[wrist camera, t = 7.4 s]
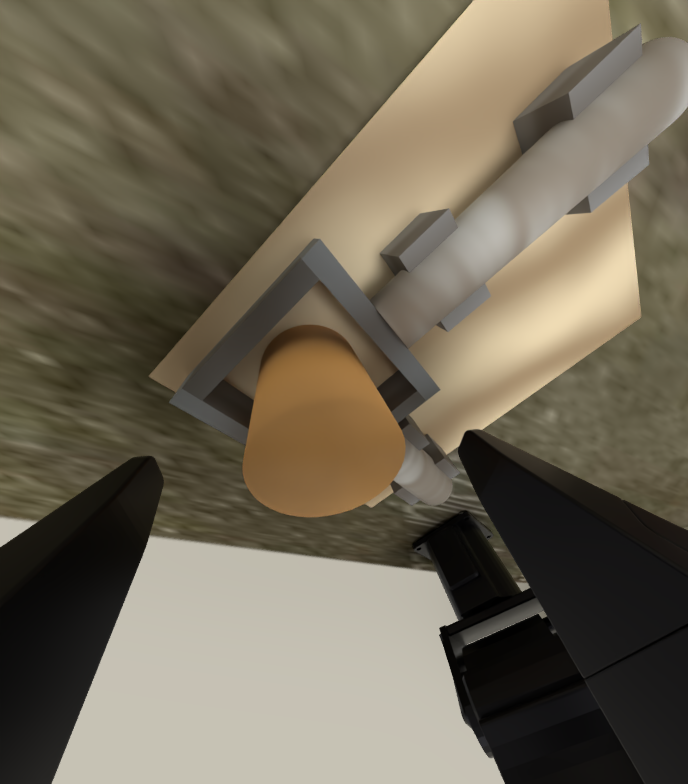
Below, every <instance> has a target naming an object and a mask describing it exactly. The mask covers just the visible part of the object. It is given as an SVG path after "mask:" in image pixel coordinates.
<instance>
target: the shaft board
mask: <svg viewBox="0 0 688 784" xmlns="http://www.w3.org/2000/svg"><path fill="white" fill-rule="evenodd" d="M687 107H688V43H687V42H685V41H684V40H681V39H678V38H674V37H662V38H657V39H654V40H651V41H649V42H646V43H644V44H642V37H641V23H640V24H639V25H637V26H636V27H634V28H632V29H631V30H629V31H627V32H626V33H624V34H622V35H621V36H619V37H617V38H616V39H614V40H612V31H611V21H610V12H609V2H608V0H474V1H473V2H472V3H471V4H470V5H469V6H468V8H467V9H466V10H465V11H464V12H463V13H462V15H461V16H460V17H459V18H458V19H457V20H456V21H455V23H454V24H453V25H452V26H451V27H450V28H449V30H448V31H447V32H446V33H445V34H444V35H443V36H442V38H441V39H440V40H439V41H438V42H437V43H436V45H435V46H434V47H433V48H432V49H431V50H430V51H429V53H428V54H427V55H426V56H425V57H424V58H423V60H422V61H421V62H420V63H419V64H418V65H417V67H416V68H415V69H414V70H413V71H412V72H411V73H410V75H409V76H408V77H407V78H406V79H405V80H404V82H403V83H402V84H401V85H400V86H399V87H398V88H397V90H396V91H395V92H394V93H393V94H392V95H391V97H390V98H389V99H388V100H387V101H386V102H385V104H384V105H383V106H382V107H381V108H380V109H379V110H378V112H377V113H376V114H375V115H374V116H373V117H372V119H371V120H370V121H369V122H368V123H367V124H366V125H365V127H364V128H363V129H362V130H361V131H360V132H359V134H358V135H357V136H356V137H355V138H354V139H353V140H352V142H351V143H350V144H349V145H348V146H347V147H346V149H345V150H344V151H343V152H342V153H341V154H340V156H339V157H338V158H337V159H336V160H335V161H334V162H333V164H332V165H331V166H330V167H329V168H328V169H327V171H326V172H325V173H324V174H323V175H322V176H321V177H320V179H319V180H318V181H317V182H316V183H315V184H314V186H313V187H312V188H311V189H310V190H309V191H308V193H307V194H306V195H305V196H304V197H303V198H302V199H301V201H300V202H299V203H298V204H297V205H296V206H295V208H294V209H293V210H292V211H291V212H290V213H289V214H288V216H287V217H286V218H285V219H284V220H283V221H282V223H281V224H280V225H279V226H278V227H277V228H276V230H275V231H274V232H273V233H272V234H271V235H270V236H269V238H268V239H267V240H266V241H265V242H264V243H263V245H262V246H261V247H260V248H259V249H258V250H257V251H256V253H255V254H254V255H253V256H252V257H251V258H250V260H249V261H248V262H247V263H246V264H245V265H244V266H243V268H242V269H241V270H240V271H239V272H238V273H237V275H236V276H235V277H234V278H233V279H232V280H231V282H230V283H229V284H228V285H227V286H226V287H225V288H224V290H223V291H222V292H221V293H220V294H219V295H218V297H217V298H216V299H215V300H214V301H213V302H212V303H211V305H210V306H209V307H208V308H207V309H206V310H205V312H204V313H203V314H202V315H201V316H200V317H199V319H198V320H197V321H196V322H195V323H194V324H193V325H192V327H191V328H190V329H189V330H188V331H187V332H186V334H185V335H184V336H183V337H182V338H181V339H180V340H179V342H178V343H177V344H176V345H175V346H174V347H173V349H172V350H171V351H170V352H169V353H168V354H167V355H166V357H165V358H164V359H163V360H162V361H161V362H160V364H159V365H158V366H157V367H156V368H155V369H154V371H153V372H152V373H151V374H150V375H149V376H148V377H150V378H152V379H154V380H155V381H157V382H159V383H160V384H162V385H164V386H165V387H167V388H169V389H171V390H172V391H174V392H176V393H175V394H174V396H173V397H172V399H171V400H170V401H169V403H171V404H172V405H174V406H176V407H178V408H179V409H181V410H183V411H185V412H187V413H188V414H190V415H192V416H194V417H195V418H197V419H199V420H201V421H203V422H204V423H206V424H208V425H210V426H212V427H213V428H215V429H217V430H219V431H220V432H222V433H224V434H226V435H228V436H229V437H231V438H233V439H235V440H236V441H238V442H240V443H242V444H244V445H245V446H246V442H247V436H248V431H249V425H250V420H251V414H252V409H253V403H254V397H255V392H256V386H257V381H258V375H259V370H260V364H261V359H262V356H263V354H264V351H265V349H266V348H267V346H268V345H269V343H270V342H271V341H272V340H273V339H274V338H275V337H276V336H278V335H279V334H280V333H282V332H284V331H285V330H288V329H290V328H293V327H296V326H300V325H320V326H324V327H327V328H330V329H332V330H334V331H336V332H338V333H339V334H340V335H342V336H343V337H344V338H345V339H346V340H347V341H348V342H349V344H350V345H351V347H352V348H353V350H354V352H355V353H356V355H357V357H358V358H359V360H360V362H361V363H362V365H363V367H364V368H365V370H366V372H367V373H368V375H369V377H370V378H371V380H372V382H373V383H374V385H375V386H376V388H377V390H378V391H379V393H380V395H381V396H382V398H383V400H384V401H385V403H386V405H387V406H388V408H389V410H390V411H391V413H392V415H393V416H394V418H395V420H396V421H397V423H398V425H399V426H400V428H401V430H402V432H403V435H404V438H405V445H406V448H405V457H404V461H403V464H402V466H401V469H400V470H399V472H398V474H397V476H396V477H395V478H394V480H393V481H392V482H391V483H390V485H389V486H388V487H387V488H386V489H385V490H383V491H382V492H381V493H380V494H379V495H377V496H376V497H375V498H373V499H371V500H370V501H368V502H367V503H365V504H366V505H368V506H369V507H371V508H372V507H373V506H375V505H376V504H377V503H379V502H380V501H382V500H383V499H384V498H386V497H387V496H389V495H390V494H391V493H393V492H394V494H396V495H397V496H398V497H400V498H401V499H403V500H404V501H406V502H407V503H409V504H410V505H414V504H415V503H416V502H418V501H419V500H421V501H422V502H424V503H426V504H428V505H439V504H442V503H443V502H445V501H446V500H447V499H448V498H449V496H450V494H451V492H452V488H453V483H452V478H453V477H455V476H456V475H458V474H459V473H460V472H459V471H458V470H457V468H456V467H455V466H454V464H453V463H452V461H451V460H450V459H449V457H448V456H447V454H448V453H450V452H451V451H452V450H454V449H455V448H457V447H458V446H459V445H460V442H461V440H462V437H463V435H464V433H465V431H467V430H472V429H480V430H482V429H484V428H485V427H486V426H488V425H489V424H491V423H492V422H493V421H495V420H496V419H498V418H499V417H501V416H502V415H503V414H505V413H506V412H508V411H509V410H510V409H512V408H513V407H515V406H516V405H517V404H519V403H520V402H522V401H523V400H525V399H526V398H527V397H529V396H530V395H532V394H533V393H534V392H536V391H537V390H539V389H540V388H542V387H543V386H544V385H546V384H547V383H549V382H550V381H551V380H553V379H554V378H556V377H557V376H559V375H560V374H561V373H563V372H564V371H566V370H567V369H568V368H570V367H571V366H573V365H574V364H576V363H577V362H578V361H580V360H581V359H583V358H584V357H585V356H587V355H588V354H590V353H591V352H593V351H594V350H595V349H597V348H598V347H600V346H601V345H602V344H604V343H605V342H607V341H608V340H610V339H611V338H612V337H614V336H615V335H617V334H618V333H619V332H621V331H622V330H624V329H625V328H627V327H628V326H629V325H631V324H632V323H634V322H635V321H636V320H638V319H639V318H641V309H640V299H639V289H638V280H637V270H636V261H635V251H634V242H633V232H632V222H631V213H630V203H629V194H628V184H627V182H629V181H630V180H631V179H632V178H633V177H635V176H636V175H637V174H638V173H639V172H641V171H642V170H643V169H644V168H645V167H647V166H648V165H649V155H648V144H649V143H650V142H651V141H652V140H653V139H654V138H656V137H657V136H658V135H659V134H660V133H661V132H663V131H664V130H665V129H666V128H667V127H668V126H670V125H671V124H672V123H673V122H674V121H675V120H677V119H678V118H679V116H680V115H681V114H682V113H683V112H684V111H685V109H686V108H687Z"/></svg>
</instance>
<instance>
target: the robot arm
mask: <svg viewBox="0 0 688 784" xmlns="http://www.w3.org/2000/svg"><path fill="white" fill-rule="evenodd" d="M458 454H459V457H460V460H461V462H462V464H463V466H464V468H465V470H466V472H467V475H468V477H469V479H470V481H471V483H472V485H473V488H474V490H475V492H476V494H477V496H478V498H479V500H480V502H481V503H482V505H483V507H484V509H485V510H486V512H487V514H488V516H489V517H490V519H491V521H492V522H493V524H494V526H495V528H496V529H497V531H498V533H499V534H500V536H501V538H502V540H503V541H504V543H505V545H506V546H507V548H508V550H509V552H510V553H511V555H512V557H513V558H514V560H515V562H516V564H517V565H518V567H519V569H520V570H521V572H522V574H523V576H524V577H525V579H526V581H527V582H528V584H529V586H530V588H529V589H527V590H525V591H523V592H522V591H521V590H520V588H519V587H518V585H517V584H516V582H515V581H514V579H513V578H512V576H511V575H510V573H509V572H508V570H507V569H506V567H505V566H504V564H503V563H502V561H501V560H500V558H499V557H498V555H497V554H496V552H495V551H494V549H493V547H492V546H491V544H490V543H489V541H488V539H490V538H492V537H493V534H492V532H491V531H490V530H489V529H488V528H487V527H486V526H484V525H483V524H482V523H481V522H480V521H478V520H477V519H476V518H475V517H474V516H472V515H471V514H470V513H469V512H464V513H462V514H460V515H459V516H457V517H456V518H454V519H452V520H451V521H449V522H448V523H446V524H445V525H443V526H441V527H440V528H438V529H437V530H435V531H433V532H432V533H430V534H429V535H427V536H426V537H424V538H422V539H421V540H419V541H418V542H416V543H415V544H413V546H412V547H413V549H414V551H415V552H417V553H419V554H420V555H422V556H424V557H426V558H428V559H430V560H432V563H433V565H434V567H435V569H436V571H437V574H438V576H439V578H440V580H441V583H442V585H443V587H444V589H445V592H446V594H447V596H448V598H449V601H450V603H451V605H452V607H453V609H454V612H455V614H456V616H457V619H458V621H457V622H455V623H453V624H450V625H448V626H443V627H440V628H439V629H440V632H441V634H440V635H439V636H440V638H441V641H442V644H443V647H444V650H445V653H446V657H447V660H448V663H449V666H450V669H451V673H452V676H453V680H454V684H455V688H456V692H457V697H458V701H459V706H460V709H461V714H462V717H463V719H464V721H465V723H466V724H467V725H468V726H469V727H471V728H472V729H473V731H474V733H475V735H476V737H477V739H478V741H479V743H480V745H481V746H482V748H483V750H484V752H485V753H486V755H487V756H488V757H489V758H493V757H494V759H495V762H496V764H497V766H498V769H499V771H500V773H501V776H502V778H503V780H504V782H505V784H688V530H686V529H684V528H682V527H679V526H677V525H675V524H673V523H671V522H669V521H667V520H665V519H662V518H660V517H658V516H656V515H654V514H652V513H650V512H648V511H646V510H644V509H642V508H640V507H638V506H635V505H633V504H631V503H629V502H627V501H625V500H621V499H620V498H619V497H617V496H615V495H613V494H611V493H609V492H607V491H605V490H603V489H601V488H599V487H597V486H594V485H592V484H590V483H588V482H586V481H584V480H582V479H580V478H578V477H576V476H574V475H572V474H570V473H568V472H566V471H564V470H562V469H560V468H558V467H556V466H554V465H552V464H550V463H548V462H545V461H543V460H541V459H539V458H537V457H535V456H533V455H531V454H529V453H527V452H525V451H523V450H521V449H519V448H517V447H515V446H513V445H511V444H509V443H507V442H505V441H503V440H501V439H498V438H496V437H494V436H492V435H490V434H488V433H486V432H484V431H482V430H480V429H472V430H467V431H465V433H464V435H463V437H462V440H461V442H460V445H459V448H458ZM163 484H164V480H163V476H162V474H161V471H160V469H159V467H158V464H157V462H156V460H155V458H154V457H152V456H140V457H133V458H131V459H130V460H128V461H127V462H125V463H124V464H122V465H121V466H119V467H118V468H116V469H115V470H113V471H112V472H110V473H109V474H108V475H106V476H105V477H103V478H102V479H100V480H99V481H97V482H96V483H94V484H93V485H91V486H90V487H88V488H87V489H85V490H84V491H83V492H81V493H80V494H78V495H77V496H75V497H74V498H72V499H71V500H69V501H68V502H66V503H65V504H63V505H62V506H60V507H59V508H57V509H56V510H55V511H53V512H52V513H50V514H49V515H47V516H46V517H44V518H43V519H41V520H40V521H38V522H37V523H35V524H34V525H32V526H31V527H30V528H28V529H27V530H25V531H24V532H22V533H21V534H19V535H18V536H17V537H15V538H13V539H12V540H10V541H9V542H8V543H6V544H5V545H3V546H2V547H0V784H52V781H53V779H54V776H55V773H56V771H57V769H58V766H59V763H60V761H61V758H62V756H63V753H64V751H65V749H66V746H67V744H68V741H69V739H70V736H71V734H72V731H73V729H74V726H75V723H76V721H77V719H78V716H79V714H80V711H81V708H82V706H83V704H84V701H85V698H86V696H87V693H88V691H89V688H90V686H91V684H92V681H93V679H94V676H95V674H96V671H97V669H98V666H99V663H100V661H101V658H102V656H103V653H104V651H105V648H106V646H107V643H108V641H109V638H110V636H111V633H112V631H113V628H114V626H115V623H116V621H117V618H118V616H119V613H120V611H121V608H122V606H123V603H124V601H125V598H126V596H127V593H128V591H129V588H130V586H131V583H132V581H133V578H134V576H135V573H136V571H137V568H138V566H139V563H140V561H141V558H142V556H143V553H144V550H145V548H146V545H147V542H148V538H149V535H150V532H151V528H152V524H153V521H154V517H155V514H156V510H157V507H158V503H159V499H160V496H161V492H162V489H163ZM541 611H545V613H546V615H547V617H545V618H543V619H542V618H541V617H540V616H539V614H537V613H539V612H541ZM535 614H536V615H535ZM532 615H534V616H532ZM530 616H532V617H530ZM528 617H530V618H528ZM526 618H527V619H526ZM523 619H525V620H523ZM521 620H523V621H521ZM519 621H521V622H519ZM517 622H518V623H517ZM514 623H516V624H514ZM512 624H514V625H512ZM510 625H511V626H510ZM507 626H509V627H507ZM505 627H507V628H505ZM503 628H505V629H503ZM501 629H503V630H501ZM498 630H500V631H498ZM496 631H498V632H496ZM494 632H496V633H494ZM492 633H493V634H492ZM489 634H491V635H489ZM487 635H489V636H487ZM485 636H487V637H485ZM482 637H484V638H482ZM480 638H482V639H480ZM478 639H480V640H478ZM476 640H477V641H476ZM473 641H475V642H473ZM471 642H473V643H471ZM469 643H471V644H469ZM467 644H468V645H467Z"/></svg>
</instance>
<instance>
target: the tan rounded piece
mask: <svg viewBox="0 0 688 784" xmlns="http://www.w3.org/2000/svg"><path fill="white" fill-rule="evenodd" d="M405 448H406V445H405V438H404V435H403V432H402V430H401V428H400V426H399V425H398V423H397V421H396V420H395V418H394V416H393V415H392V413H391V411H390V410H389V408H388V406H387V405H386V403H385V401H384V400H383V398H382V396H381V395H380V393H379V391H378V390H377V388H376V386H375V385H374V383H373V382H372V380H371V378H370V377H369V375H368V373H367V372H366V370H365V368H364V367H363V365H362V363H361V362H360V360H359V358H358V357H357V355H356V353H355V352H354V350H353V348H352V347H351V345H350V344H349V342H348V341H347V340H346V339H345V338H344V337H343V336H342V335H340V334H339V333H338V332H336V331H334V330H332V329H330V328H327V327H324V326H320V325H300V326H296V327H293V328H290V329H288V330H285V331H284V332H282V333H280V334H279V335H278V336H276V337H275V338H274V339H273V340H272V341H271V342H270V343H269V345H268V346H267V348H266V349H265V351H264V354H263V356H262V359H261V364H260V370H259V375H258V381H257V386H256V392H255V397H254V403H253V409H252V414H251V420H250V425H249V431H248V436H247V442H246V447H245V453H244V459H243V466H242V467H243V477H244V480H245V483H246V485H247V487H248V489H249V491H250V492H251V493H252V495H253V496H254V497H255V498H256V499H257V500H258V501H259V502H261V503H262V504H264V505H265V506H267V507H269V508H270V509H272V510H275V511H277V512H280V513H283V514H287V515H292V516H298V517H322V516H329V515H335V514H339V513H343V512H346V511H349V510H352V509H354V508H356V507H359V506H361V505H363V504H365V503H367V502H368V501H370V500H371V499H373V498H375V497H376V496H377V495H379V494H380V493H381V492H382V491H383V490H385V489H386V488H387V487H388V486H389V485H390V483H391V482H392V481H393V480H394V478H395V477H396V476H397V474H398V472H399V470H400V469H401V466H402V464H403V461H404V457H405Z"/></svg>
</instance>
